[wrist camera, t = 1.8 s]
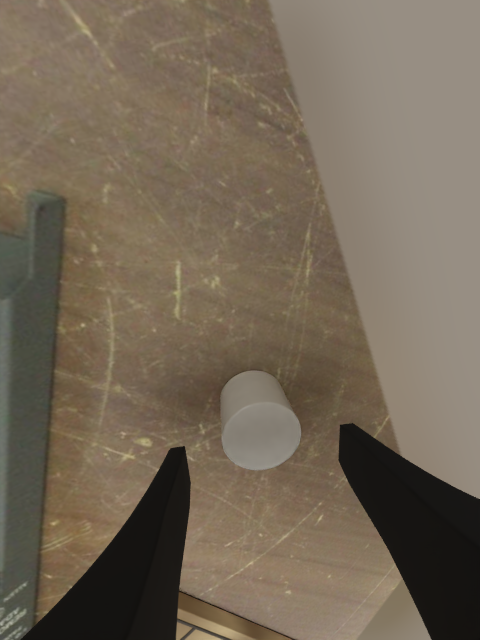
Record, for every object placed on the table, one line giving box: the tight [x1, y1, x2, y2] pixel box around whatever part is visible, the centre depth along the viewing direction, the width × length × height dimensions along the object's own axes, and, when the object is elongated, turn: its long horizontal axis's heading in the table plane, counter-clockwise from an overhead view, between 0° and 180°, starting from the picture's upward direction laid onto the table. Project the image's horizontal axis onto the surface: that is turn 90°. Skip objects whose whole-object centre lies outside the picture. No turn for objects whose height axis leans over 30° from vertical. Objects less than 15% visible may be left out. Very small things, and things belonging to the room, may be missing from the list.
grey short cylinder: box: [220, 370, 301, 470], centre depth 14 cm, size 4×4×3 cm
